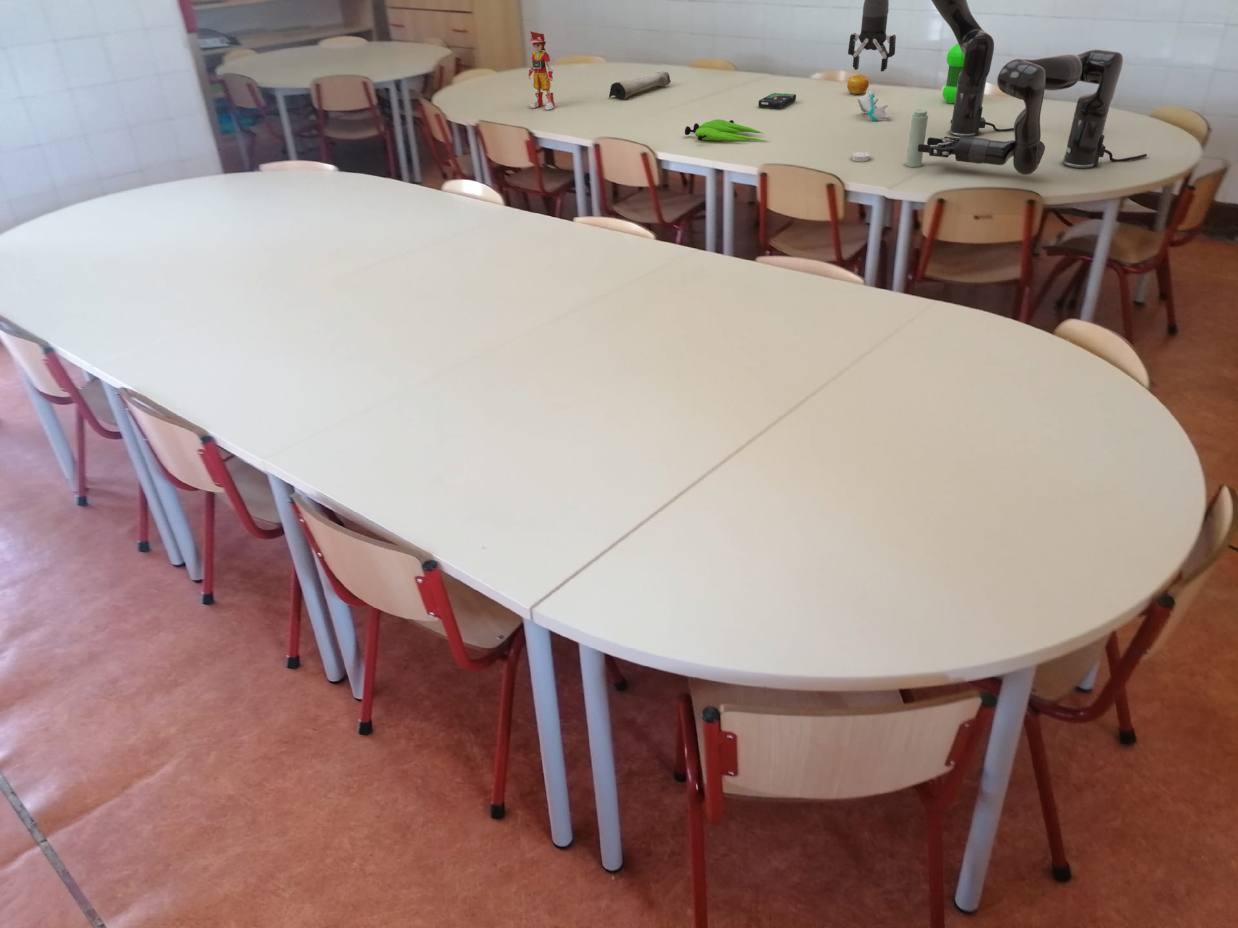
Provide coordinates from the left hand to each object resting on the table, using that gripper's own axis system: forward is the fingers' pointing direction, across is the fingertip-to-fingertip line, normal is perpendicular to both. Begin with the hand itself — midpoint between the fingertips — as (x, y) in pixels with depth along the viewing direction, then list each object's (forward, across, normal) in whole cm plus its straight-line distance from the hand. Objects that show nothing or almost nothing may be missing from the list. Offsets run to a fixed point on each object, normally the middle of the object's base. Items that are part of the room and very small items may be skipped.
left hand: (869, 70), depth 284 cm
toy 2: (+28, -53, +9) cm, 60 cm away
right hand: (+21, +20, 0) cm, 29 cm away
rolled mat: (+28, -120, +63) cm, 138 cm away
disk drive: (+28, -54, +60) cm, 86 cm away
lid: (+27, 0, 0) cm, 27 cm away
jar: (+28, +18, 0) cm, 33 cm away
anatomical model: (+28, -13, +54) cm, 62 cm away
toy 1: (+28, -147, +25) cm, 152 cm away
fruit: (+28, -30, +88) cm, 97 cm away
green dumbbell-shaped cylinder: (+28, +10, +85) cm, 90 cm away
